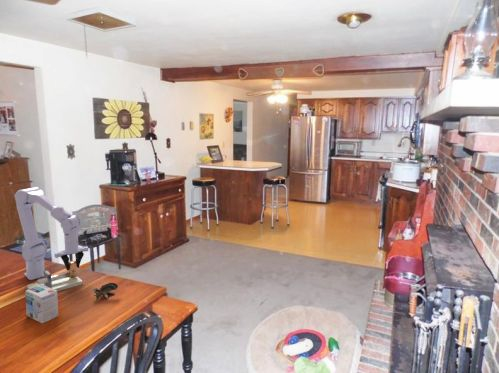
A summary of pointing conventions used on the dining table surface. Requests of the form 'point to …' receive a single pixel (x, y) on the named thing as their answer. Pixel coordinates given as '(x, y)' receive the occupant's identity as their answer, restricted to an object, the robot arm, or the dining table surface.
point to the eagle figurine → (105, 290)
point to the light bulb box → (41, 303)
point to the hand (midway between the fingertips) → (72, 268)
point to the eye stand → (58, 282)
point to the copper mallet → (71, 274)
